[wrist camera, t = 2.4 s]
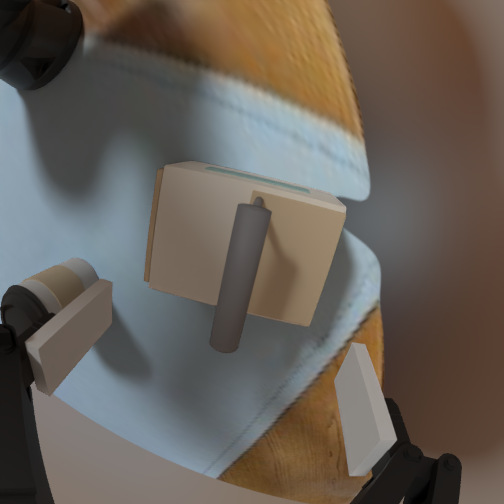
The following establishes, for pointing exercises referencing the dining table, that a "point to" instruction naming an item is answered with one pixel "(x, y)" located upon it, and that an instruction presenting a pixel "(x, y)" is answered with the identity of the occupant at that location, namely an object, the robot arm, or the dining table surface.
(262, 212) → the drawer with bar handle
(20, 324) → the coffee cup
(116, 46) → the dining table surface
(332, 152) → the dining table surface
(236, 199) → the carton
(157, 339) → the dining table surface
